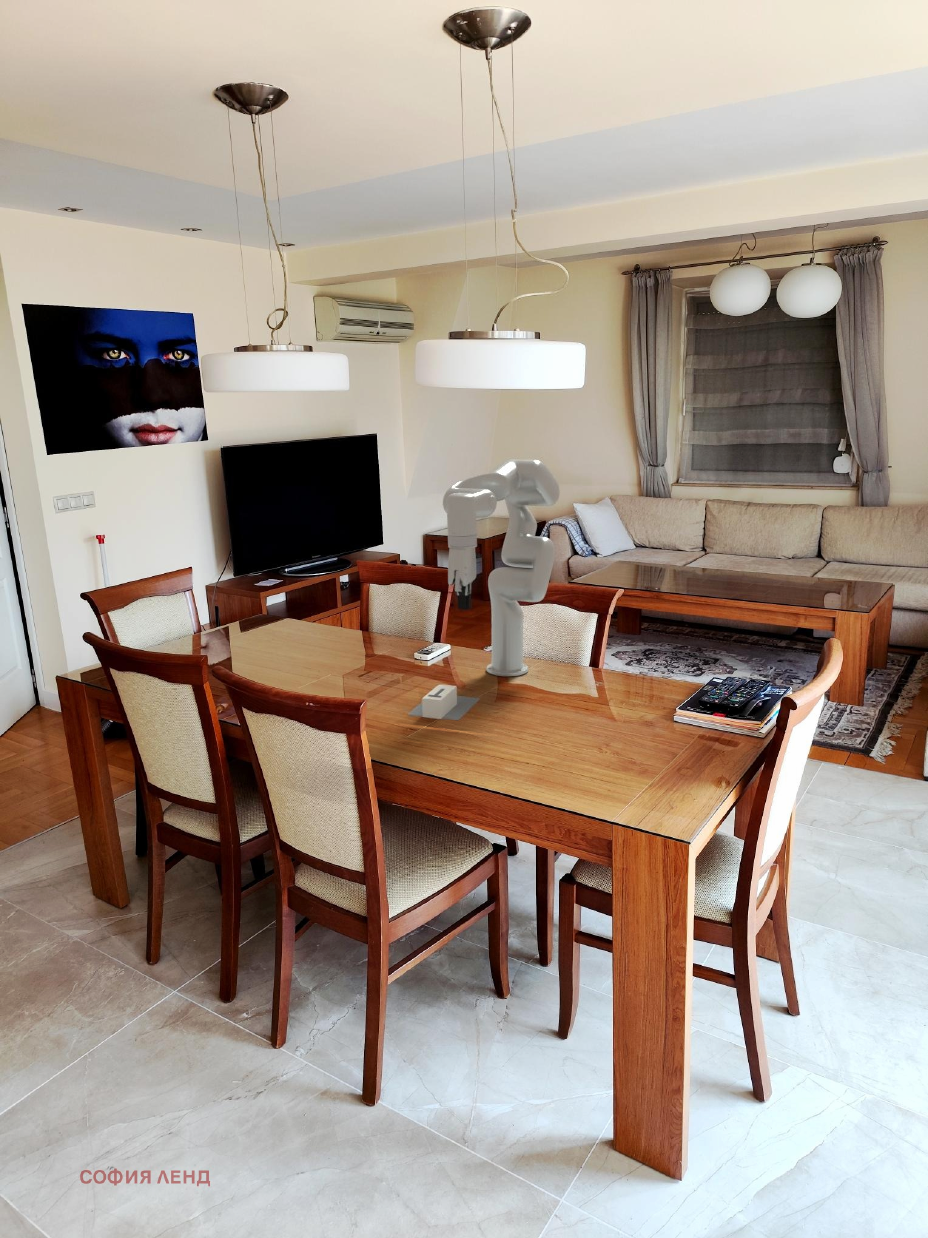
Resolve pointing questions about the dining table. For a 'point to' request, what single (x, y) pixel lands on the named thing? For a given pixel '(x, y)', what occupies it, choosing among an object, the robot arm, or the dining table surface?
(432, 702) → the letter block
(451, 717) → the mat
